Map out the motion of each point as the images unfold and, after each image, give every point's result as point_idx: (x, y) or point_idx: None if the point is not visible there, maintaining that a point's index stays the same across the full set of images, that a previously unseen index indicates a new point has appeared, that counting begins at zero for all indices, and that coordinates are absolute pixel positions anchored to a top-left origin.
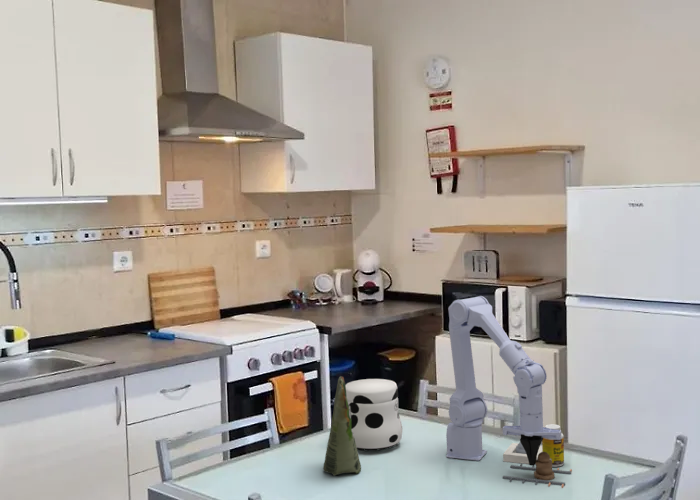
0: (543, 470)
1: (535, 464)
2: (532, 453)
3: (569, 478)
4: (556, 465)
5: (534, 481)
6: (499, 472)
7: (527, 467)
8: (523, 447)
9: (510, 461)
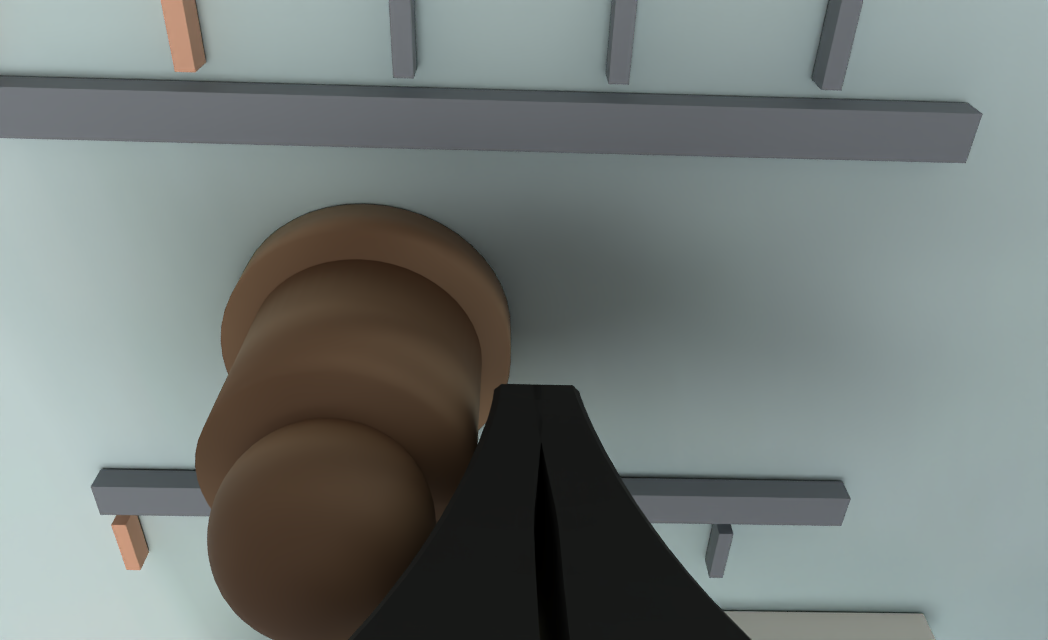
0: (325, 302)
1: None
2: (507, 526)
3: (53, 356)
4: None
5: (452, 94)
6: (992, 323)
7: None
8: (733, 622)
9: (845, 618)
